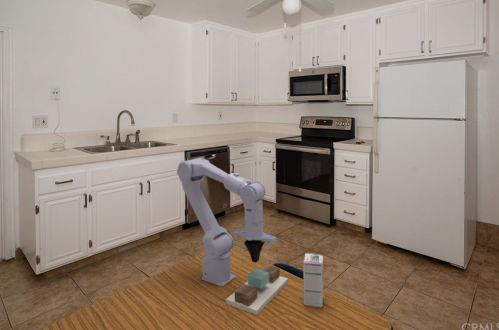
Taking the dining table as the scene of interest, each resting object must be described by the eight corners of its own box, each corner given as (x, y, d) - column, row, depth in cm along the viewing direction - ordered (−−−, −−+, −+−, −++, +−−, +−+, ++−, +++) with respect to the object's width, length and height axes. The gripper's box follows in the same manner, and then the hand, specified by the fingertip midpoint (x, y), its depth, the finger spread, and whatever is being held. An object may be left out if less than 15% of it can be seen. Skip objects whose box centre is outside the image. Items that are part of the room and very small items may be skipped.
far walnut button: (259, 279, 110) (259, 270, 109) (266, 272, 114) (266, 264, 113) (272, 283, 107) (272, 274, 107) (279, 276, 111) (279, 267, 111)
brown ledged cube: (234, 301, 97) (234, 291, 97) (243, 293, 101) (243, 283, 101) (248, 306, 95) (248, 296, 94) (257, 297, 99) (257, 288, 98)
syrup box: (322, 308, 96) (323, 262, 94) (302, 305, 97) (303, 260, 95) (322, 297, 101) (324, 254, 99) (304, 295, 103) (304, 252, 100)
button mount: (226, 303, 99) (225, 293, 98) (260, 274, 116) (260, 265, 116) (256, 315, 93) (256, 304, 92) (287, 282, 110) (288, 273, 110)
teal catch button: (248, 284, 103) (247, 275, 103) (256, 277, 107) (255, 268, 107) (261, 288, 101) (261, 279, 100) (269, 281, 105) (269, 272, 104)
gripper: (228, 221, 102) (230, 261, 105) (267, 228, 95) (269, 271, 97) (240, 215, 108) (242, 253, 110) (278, 221, 101) (279, 261, 103)
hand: (255, 261), depth 104 cm, fingers closed
